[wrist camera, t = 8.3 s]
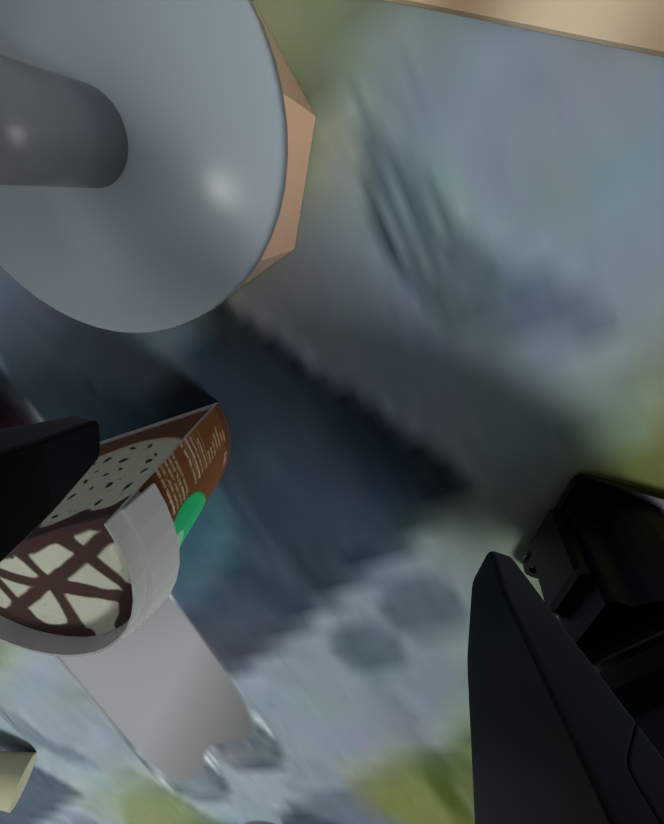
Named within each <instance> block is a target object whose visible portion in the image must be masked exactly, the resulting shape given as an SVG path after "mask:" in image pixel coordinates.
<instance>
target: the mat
mask: <svg viewBox="0 0 664 824" xmlns="http://www.w3.org/2000/svg"><path fill="white" fill-rule="evenodd" d="M386 1H391V2H396V3H401V4H406V5H411V6H415V7H420V8H425V9H430V10H435V11H440V12H445V13H450V14H455V15H460V16H465V17H470V18H475V19H480V20H484V21H489V22H494V23H499V24H504V25H509V26H514V27H519V28H524V29H529V30H534V31H539V32H544V33H548V34H553V35H558V36H563V37H568V38H573V39H578V40H583V41H588V42H593V43H598V44H603V45H608V46H613V47H617V48H622V49H627V50H632V51H637V52H642V53H647V54H652V55H657V56H662V57H664V0H386Z"/></svg>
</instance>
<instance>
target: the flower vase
mask: <svg viewBox="0 0 664 824" xmlns="http://www.w3.org/2000/svg"><path fill="white" fill-rule="evenodd" d="M36 757H37V752H19V751H0V810H1V811H5V812H8V813H10V812H11V811H12V809H13V808H14V807H15V805H16V803H17V802H18V800H19V798H20V796H21V794H22V792H23V790H24V788H25V786H26V784H27V782H28V779H29V777H30V774H31V772H32V769H33V767H34V764H35V760H36Z"/></svg>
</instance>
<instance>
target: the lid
mask: <svg viewBox="0 0 664 824" xmlns="http://www.w3.org/2000/svg"><path fill="white" fill-rule="evenodd" d="M287 163H288V130H287V118H286V110H285V103H284V95H283V90H282V85H281V81H280V77H279V73H278V68H277V64H276V60H275V57H274V54H273V51H272V48H271V45H270V43H269V40H268V37H267V34H266V31H265V28H264V26H263V24H262V21H261V19H260V17H259V15H258V13H257V11H256V9H255V7H254V5H253V2H252V0H0V266H1V267H2V268H3V269H4V270H5V271H6V272H7V273H8V274H10V275H11V276H12V277H13V278H14V279H15V280H16V281H17V282H18V283H19V284H20V285H22V286H23V287H24V288H25V289H27V290H28V291H29V292H31V293H32V294H33V295H34V296H36V297H37V298H38V299H40V300H41V301H43V302H45V303H46V304H48V305H49V306H51V307H52V308H54V309H56V310H57V311H59V312H61V313H63V314H65V315H67V316H69V317H71V318H73V319H75V320H78V321H81V322H83V323H86V324H89V325H92V326H95V327H98V328H103V329H107V330H112V331H116V332H128V333H145V332H156V331H161V330H165V329H170V328H174V327H176V326H179V325H182V324H184V323H187V322H189V321H192V320H194V319H196V318H198V317H200V316H202V315H204V314H205V313H207V312H209V311H210V310H212V309H214V308H215V307H217V306H219V305H220V304H222V303H223V302H224V301H225V300H227V299H228V298H229V297H230V296H231V295H233V294H234V293H235V292H236V291H237V290H238V289H239V288H240V287H241V285H242V284H243V283H244V282H245V281H246V280H247V279H248V278H249V276H250V275H251V273H252V272H253V270H254V269H255V267H256V266H257V264H258V263H259V261H260V260H261V258H262V256H263V254H264V252H265V250H266V248H267V246H268V244H269V242H270V240H271V238H272V235H273V232H274V229H275V226H276V223H277V220H278V217H279V214H280V210H281V206H282V201H283V196H284V191H285V186H286V175H287Z"/></svg>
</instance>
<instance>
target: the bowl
mask: <svg viewBox="0 0 664 824" xmlns="http://www.w3.org/2000/svg"><path fill="white" fill-rule="evenodd" d="M252 2H253V0H252ZM253 5H254V7H255V9H256V11H257V13H258V15H259V17H260V19H261V21H262V24H263V26H264V28H265V31H266V34H267V37H268V40H269V43H270V45H271V48H272V51H273V54H274V57H275V60H276V64H277V68H278V73H279V77H280V81H281V85H282V90H283V95H284V103H285V110H286V118H287V130H288V163H287V175H286V186H285V191H284V196H283V201H282V206H281V210H280V214H279V217H278V220H277V223H276V226H275V229H274V232H273V235H272V238H271V240H270V242H269V244H268V246H267V248H266V250H265V252H264V254H263V256H262V258H261V260H260V261H259V263H258V264H257V266H256V267H255V269H254V270H253V272H252V273H251V275H250V276H249V278H248V279H247V280H246V281H245V282H244V283H243V284H242V285H241V287H242V286H243V285H245V284H246V283H247V282H249V281H250V280H252V279H253V278H254V277H256V276H257V275H259V274H260V273H262V272H263V271H264V270H266V269H267V268H269V267H270V266H271V265H273V264H274V263H276V262H277V261H278V260H280V259H281V258H283V257H284V256H286V255H287V254H288V253H290V252H291V251H293V250H294V249H295V244H296V237H297V231H298V225H299V219H300V213H301V206H302V200H303V194H304V188H305V182H306V175H307V169H308V163H309V157H310V151H311V144H312V138H313V132H314V126H315V119H316V116H315V114H314V112H313V110H312V108H311V107H310V105H309V103H308V101H307V99H306V97H305V96H304V94H303V92H302V90H301V88H300V86H299V85H298V83H297V81H296V79H295V77H294V75H293V74H292V72H291V70H290V68H289V66H288V64H287V63H286V61H285V59H284V57H283V55H282V53H281V52H280V50H279V48H278V46H277V44H276V43H275V41H274V39H273V37H272V35H271V33H270V32H269V30H268V28H267V26H266V24H265V22H264V21H263V19H262V17H261V15H260V13H259V11H258V10H257V8H256V6H255V4H254V2H253Z"/></svg>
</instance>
